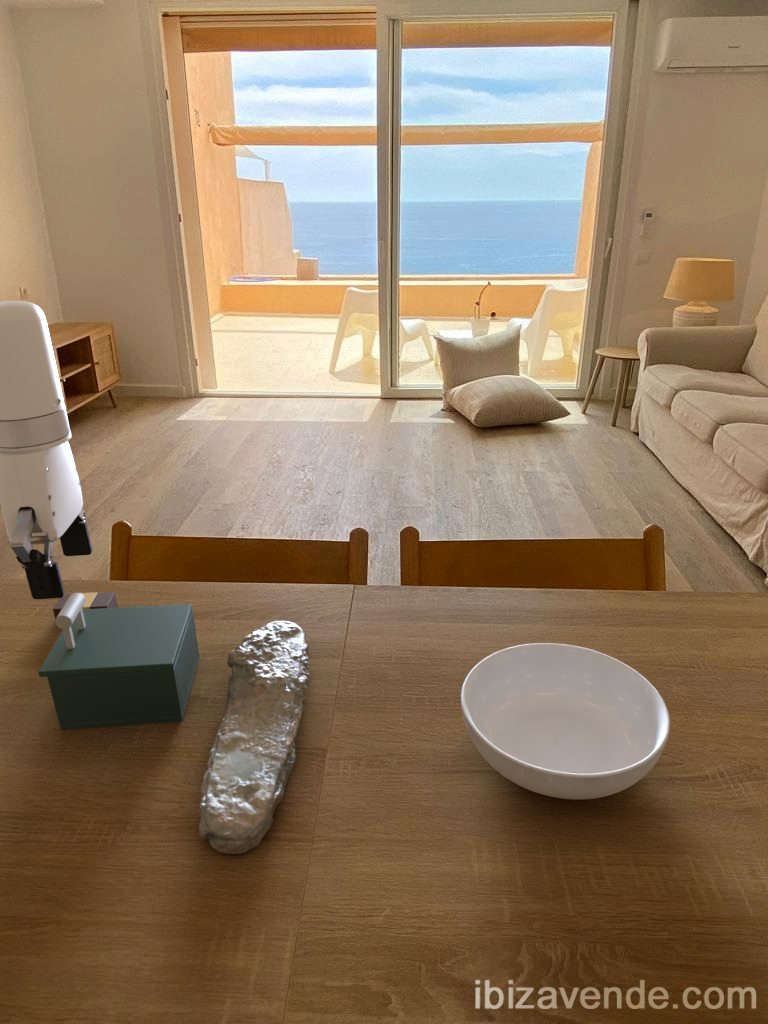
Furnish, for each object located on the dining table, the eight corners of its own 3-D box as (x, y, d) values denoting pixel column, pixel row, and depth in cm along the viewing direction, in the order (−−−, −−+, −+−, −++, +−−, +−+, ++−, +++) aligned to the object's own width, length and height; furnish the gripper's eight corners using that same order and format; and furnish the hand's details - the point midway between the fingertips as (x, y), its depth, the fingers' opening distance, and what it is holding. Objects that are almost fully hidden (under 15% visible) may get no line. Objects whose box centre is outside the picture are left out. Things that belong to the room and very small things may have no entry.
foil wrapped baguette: (175, 868, 64) (284, 871, 64) (169, 829, 61) (283, 833, 61) (244, 633, 95) (317, 636, 95) (242, 601, 92) (317, 604, 92)
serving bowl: (497, 670, 88) (500, 624, 85) (673, 723, 78) (683, 673, 76) (427, 781, 71) (428, 729, 68) (640, 865, 62) (651, 808, 59)
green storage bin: (60, 729, 79) (47, 677, 76) (93, 662, 90) (82, 615, 87) (182, 721, 80) (173, 669, 77) (199, 656, 91) (192, 608, 88)
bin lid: (39, 677, 76) (28, 636, 73) (76, 615, 87) (67, 577, 85) (173, 669, 77) (166, 628, 74) (192, 608, 88) (187, 571, 86)
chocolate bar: (56, 625, 98) (52, 608, 97) (65, 609, 102) (62, 593, 101) (110, 622, 99) (107, 605, 98) (118, 606, 103) (114, 591, 102)
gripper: (24, 407, 78) (57, 542, 85) (-51, 458, 63) (-3, 619, 70) (92, 404, 79) (119, 538, 86) (35, 454, 63) (74, 614, 70)
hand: (64, 574), depth 78 cm, fingers open, 9 cm apart
